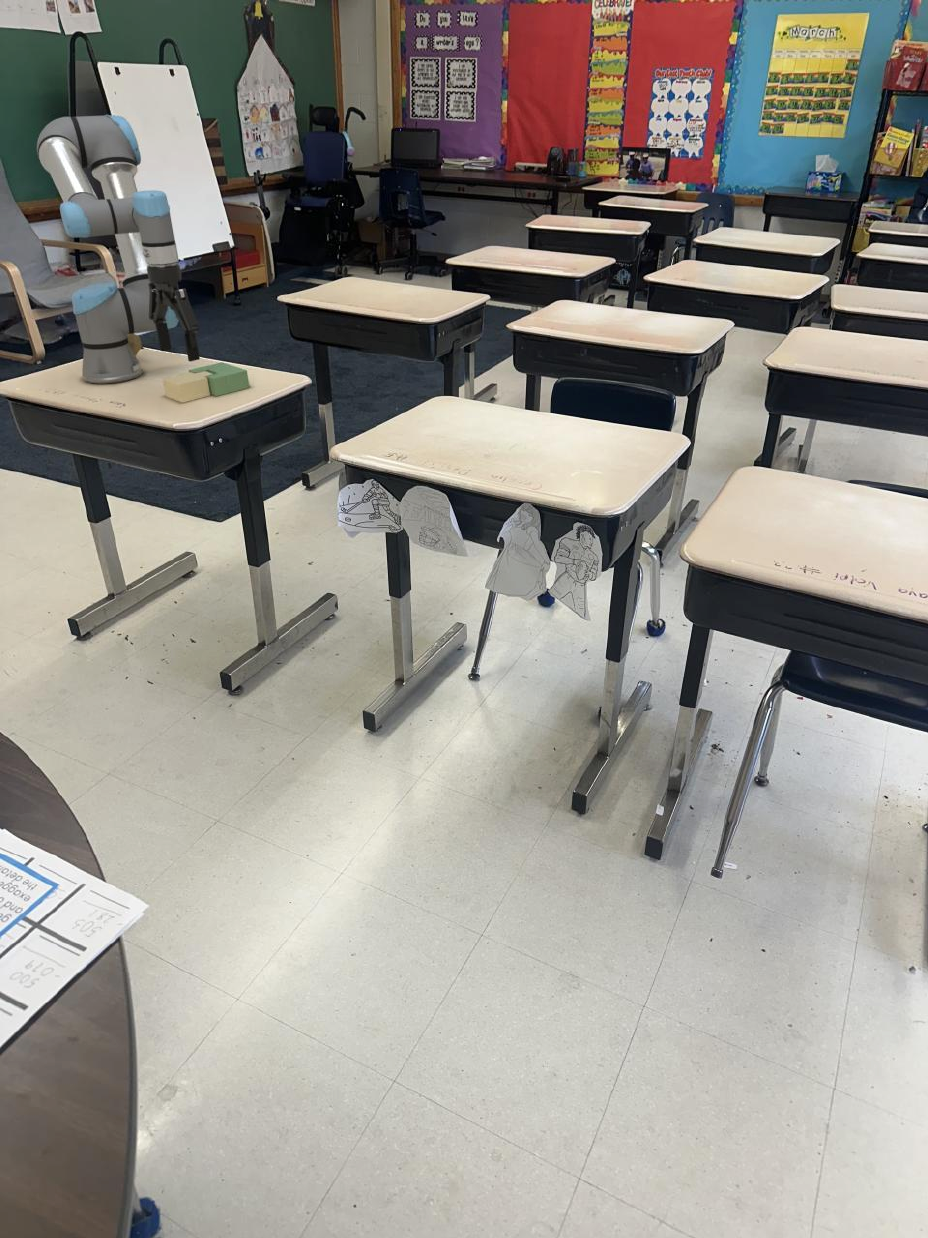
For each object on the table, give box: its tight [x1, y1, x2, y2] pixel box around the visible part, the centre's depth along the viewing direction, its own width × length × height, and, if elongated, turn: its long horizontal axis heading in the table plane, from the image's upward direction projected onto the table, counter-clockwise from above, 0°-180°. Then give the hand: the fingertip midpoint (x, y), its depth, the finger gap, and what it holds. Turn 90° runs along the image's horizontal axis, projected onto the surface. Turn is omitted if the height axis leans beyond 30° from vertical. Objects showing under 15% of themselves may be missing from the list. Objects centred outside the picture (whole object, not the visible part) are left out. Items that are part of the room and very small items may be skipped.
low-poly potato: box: [127, 333, 146, 357], centre depth 247 cm, size 15×11×12 cm
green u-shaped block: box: [188, 361, 250, 397], centre depth 223 cm, size 12×10×4 cm
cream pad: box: [162, 371, 213, 403], centre depth 218 cm, size 8×11×4 cm
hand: (180, 355), depth 213 cm, fingers open, 13 cm apart
